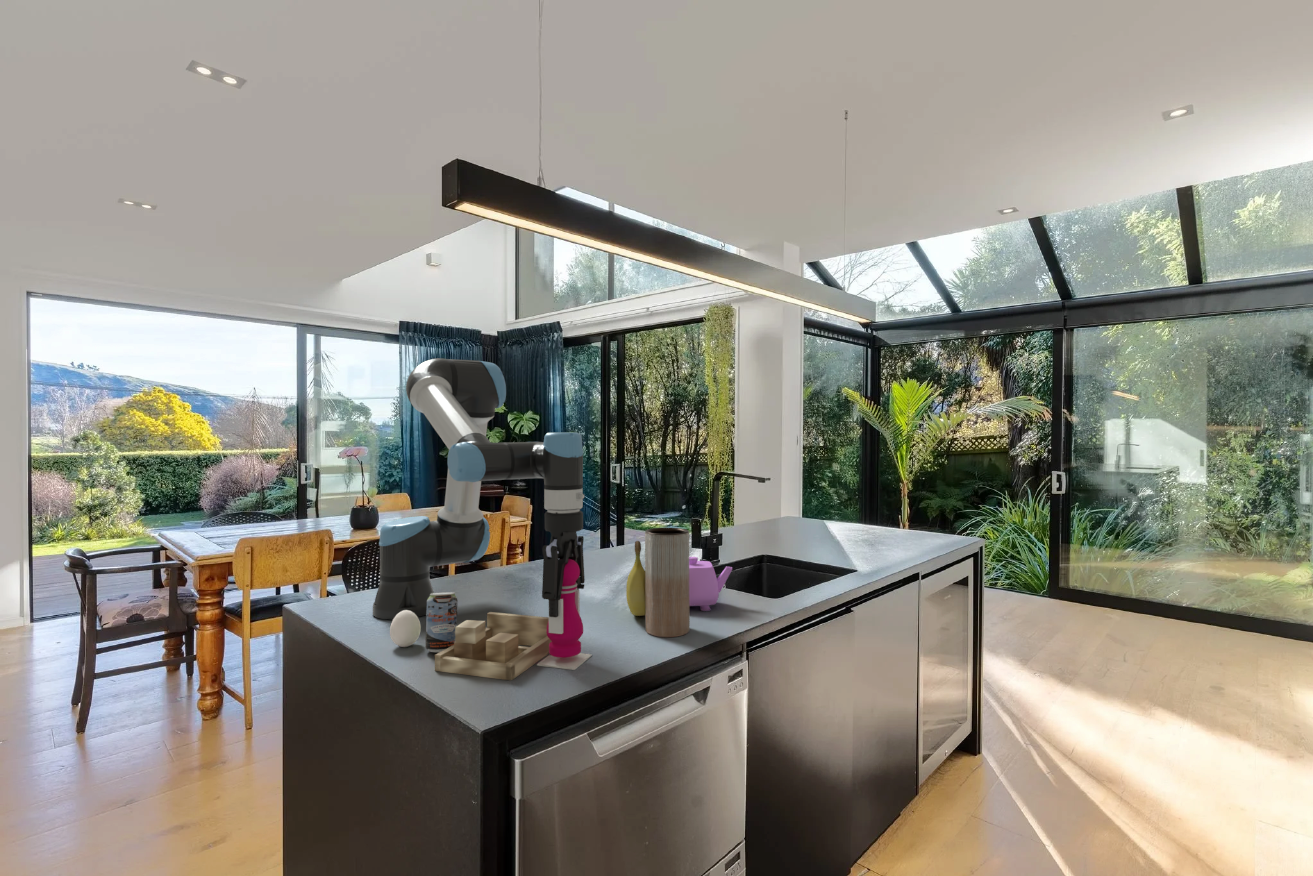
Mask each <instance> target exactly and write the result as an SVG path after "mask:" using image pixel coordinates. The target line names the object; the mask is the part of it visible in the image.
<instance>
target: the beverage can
mask: <svg viewBox="0 0 1313 876" xmlns="http://www.w3.org/2000/svg"><path fill="white" fill-rule="evenodd" d="M425 616H426V617H425V621H426V623H425V645H424V646H425V649H426V650H428V651H429V653H439V652H441V651H443V650H445V649H447V648H449V647H451V646H453V645H454V642H455V627H456V626H458V597H457V596H456V592H452V591H450V592H449V591H445V592H442V591H441V592H434V593H431V594H430V597H429V598H428V600H427V614H426V615H425Z"/></svg>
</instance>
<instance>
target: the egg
mask: <svg viewBox="0 0 1313 876" xmlns="http://www.w3.org/2000/svg"><path fill="white" fill-rule="evenodd" d="M421 630H422V629H421V622H420V619H419V617H417V616H416V615H415V613H413V612H412V611H409V610H403V611H401V612H399V613H398V614H397V615H396V616H395V618H394V619H392V621H391V624H390V627H389V636H390V639H391V640H392V642H393V643H394V644H395V645H397V646H398V647H401V648H407V647H411V646H412V645H413V644H415V643H416V642H417V640H418V639H419V638H420V634H421Z"/></svg>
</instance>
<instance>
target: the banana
mask: <svg viewBox="0 0 1313 876" xmlns="http://www.w3.org/2000/svg"><path fill="white" fill-rule="evenodd" d="M641 551H642V544H641V541H639V540H636V541H635V542H634V553H635V559H634V564H633V566H632V568H631V570H630V571H629V574H628V576H627V580H626V592H625V595H626V603H627V606H628V608H629V611H630V613H631V615H632V616H635V617H636V616H637V617H638V616H639V617H640V616H643V617H645V567H644V566H643V565H642V562H641Z"/></svg>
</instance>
